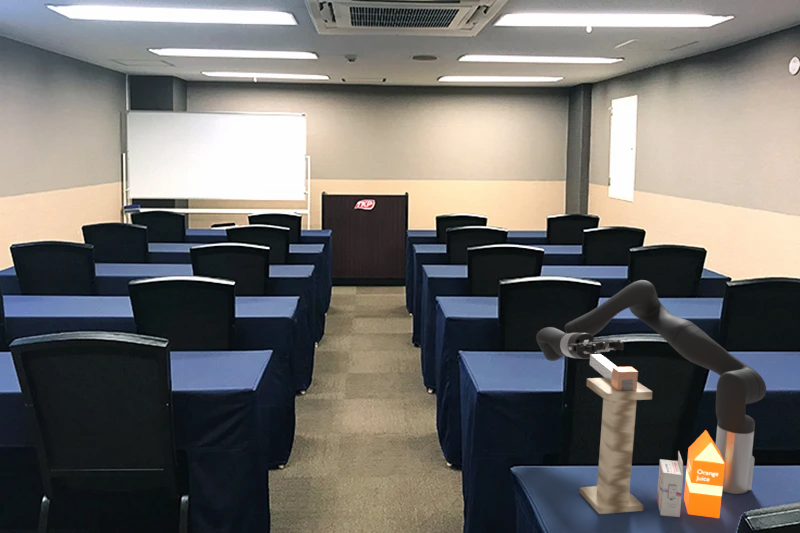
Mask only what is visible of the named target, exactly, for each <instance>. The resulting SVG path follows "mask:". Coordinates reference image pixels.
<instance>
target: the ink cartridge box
mask: <svg viewBox="0 0 800 533" xmlns="http://www.w3.org/2000/svg"><path fill="white" fill-rule="evenodd" d="M677 457H678V458H677V460H670V459H661V458H660V459H659V465H658V466H659V470H658V482H657V491H656V492H657V493H656V501H657V505H658V510H659V511H658V512H659V514H660V516H664V517H675V518H680V516H681V507H682V506H681V505H682V493H683V481H684V462H683V459H682V458H683V457H682V456H681V453H680V450H678V451H677Z"/></svg>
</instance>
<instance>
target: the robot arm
mask: <svg viewBox="0 0 800 533" xmlns="http://www.w3.org/2000/svg"><path fill="white" fill-rule="evenodd" d="M627 309H629V310H630V312H631V313H632V315H633V316H634V317H636V318H637V319H639V320H640V321H642V322H643V323H645V324H646V325H647V326H649V327H650V328H652V329H653V330H654V331H655V332H656V333H657V334H659V336H660V337H661V338H662V339H664V341H665V342H667V344H668V345H670V346H671V348H673V349H674V350H675V351H676V352H677V353H678V354H679V355H680V356H682V357H683V358H685V359H686V360H688V361H689V362H690V363H693V364H695V365H697V366H700V367H701V368H704V369H707V370H709V371H711V372H713V373H716V374H717V375H719V377H718V380H717V384H716V394H715V415H716V419H717V426H716V437H715V445H716V446H717V448H718V450H719V451H720V454H721V456H722V458H723V461H724V463H725V467H724V476H723V488H722V492H724V493H727V494H733V495H739V494H740V495H741V494H745V493H747V492H748V491H752V486H753V477H754V469H755V468H754V466H755V457H754V456H753V446H754V438H755V437H754V436H755V427H756V421H755V419H754V418H752V417H751V416H750V415H747V414H746V405H748V404H753V403H756V402H759V401H761V400H762V399H763V398H765V396H766V394H767V386H766V385H767V384H766V382H765V380H764V378H763V377H762V376H761V375H760V373H758V372H757V370H755V369H754V368H752V367H751V366H749V365H747V363H744V362H743V361H741V360H740V359H738V358H737V357H735V356H734V355H733V354H731V353H730V352H729V351H727V350H726V349H725V348H724V347H722V346H721V345H720V344H719V343H718V342H717V341H715V340H714V339H712V338H711V337H710V335H708V334H707V333H706V332H705V331H704V330H702V329H701V328H699V326H697V325H696V324H694V323H693V322H692V321H690V320H687V319H685V318H681V317H679V316H676V315H674V314H672V313H671V312H670V310H668V309H667V308H666V307H665V306H664V305H663V304H662V302H661V301H660V299H659V297H658V293H657V291H656V288H655V286H654V284H653V283H652V282H650V281H649V280H644V279H640V280H637V281H634V282H631V283H630V284H628V285H627V286H625V287H624V288H623V289H621V290H620V291H619V292H617V293H615V294H614V295H612V296H611V297H609V298H608V299H607V300H605V301H604V302H603V303H601V304H600V305H598V306H597V307H595V308H594V309H592V310H590V311H589V312H587V313H585V314H582V315H581V316H579V317H576V318H575V319H573V320H571V321H569V322H567V323H566V324H565V325H564V331H565V332H564V331H562V330H560V329H558V328H556V327H553V326H552V327H551V326H548V327H543V328H541V329H540V330H538V332H537V333H536V337H535V340H536V343H537V345H538V346H539V348H540V350H541V352H542V354H543V356H544V357H545V359H546V360H548V361H550V362H554V361H555V362H556V361H558V360H560V359H561V358H563V357H569V358H571V359H572V358H573V359H582V360H590V354H600V353H606V352H607V353H608V352H610V351H617V350H618V351H623V350H624V348H625V344H624V342H623V341H621V339H599V338H596V337H594V336H595V335H596V334H598V333H599V332H600V331H602V330H604V328H605V327H606V326H607V325H608V324H609V322H611V321H612V320H613V319H614V318H615V317H616V316H617V315H618V314H620V313H621V312H623V311H624V310H627Z"/></svg>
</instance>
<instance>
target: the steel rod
mask: <svg viewBox="0 0 800 533" xmlns="http://www.w3.org/2000/svg"><path fill="white" fill-rule="evenodd" d="M589 366H590V367H592V369H594V370H595V371H596V372H598V373H599V374H600V375H601V376H602V377H603V378H606V379H607V380H608V381H610V382H611V386H612V387H613V388H614V389H615V390H617V391H637V382H638V376H639V371H638V370H637V369H635V368H634V367H633V366H617V365H616V364H614V363H613V362H612V361H610V359H608V358H607V357H606V356H604V355H602V354H601V353H595V354H590V358H589Z"/></svg>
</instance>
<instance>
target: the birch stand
mask: <svg viewBox="0 0 800 533" xmlns="http://www.w3.org/2000/svg"><path fill="white" fill-rule="evenodd" d="M586 387H588V388H589V389H590V390H591V391H593V393H595V394H597V395H598V396H600V397H601V398H602V412H601V426H600V427H601V428H600V429H601V430H600V441H599V442H600V444H599V457H598V470H597V484H596V485H594V486H580V487H579V490H578V491H579V494H580V495H581V496H582V497H583V498H584V499H585V501H586V502H587V503H588V504H590V506H591V507H592V508H593V509H594V511H596V513H598V514H599V515H607V514H609V515H610V514H616V513H617V514H618V513H619V514H620V513H630V512H632V513H633V512H643V511H644V505H643V503H641V502H640V501H639V500H638V499H637V498H636V497H635V496H634V495H633V494H632V493H631V492H630V491H631V488H630V487H631V477H632V476H631V475H632V464H633V463H632V462H633V454H634V453H633V452H634V451H633V450H634V441H635V440H634V439H635V426H636V413H637V412H636V411H637V401H642V400H645V401H646V400H653V390H651V389H649V388H648V387H646V386H644V385H643V384H642V383H640V382H638V381H637V391H617V390H615V389H614V388H613V387H612V386H611V382H610V381H608V380H607V379H606V378H605V377H593V378H591V377H589V378H586Z"/></svg>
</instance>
